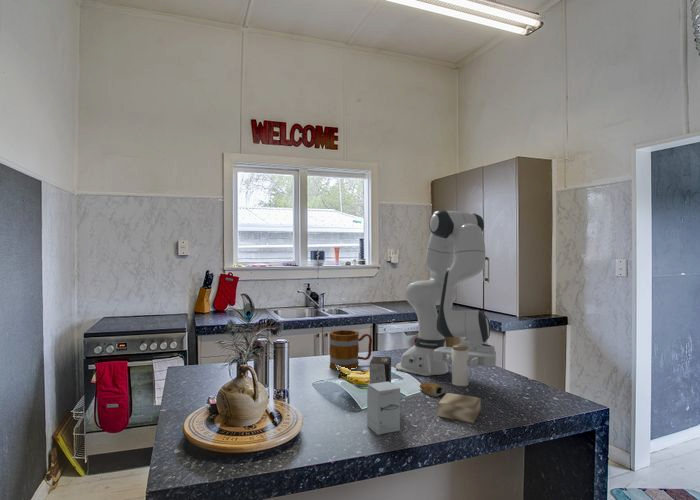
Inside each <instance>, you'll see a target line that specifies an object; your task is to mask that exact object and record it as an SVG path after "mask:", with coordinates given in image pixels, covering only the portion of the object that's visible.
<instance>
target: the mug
mask: <svg viewBox="0 0 700 500" xmlns="http://www.w3.org/2000/svg"><path fill="white" fill-rule="evenodd" d="M359 336H360V332H359V331H358V330H357V331H356V330H352V329H351V330H350V329H339V330H332V331H330V333H329V342H330V343H329V369H332V370H335V371H338V370H337V368H336V366H335V364H336V365H339V366H341V367H345V368H348V369H351V368H356V367H358V368H359V366H358V364H359V360H364V361H368V360H370V358H371V355H372V345H373V344H372V343H373V339H372V336H371V335H370V334H369V333H364V334H362V335H361V336H360V337H359ZM366 337H368V352H367V356H366V357H364V356H359V350H360V349H359V342H361V341H363V340H364V339H365V338H366Z"/></svg>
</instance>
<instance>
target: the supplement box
mask: <svg viewBox="0 0 700 500" xmlns="http://www.w3.org/2000/svg"><path fill="white" fill-rule="evenodd" d="M366 391H367V395H366V396H367V399H366V402H367V403H366V404H367V405H366V407H367V408H366V411H367V412H366V413H367V415H366V416H367V417H366V418H367V419H366V420H367V421H366V427H368V428H370V430H371V431H372V432H374V433H375V434H376V435H378V436H380V435H384V434H389V433H396V432H400V430H401V388H400V387H399V386H397V385H396V384H394V383H392V382H391V383H390V382H381V383H373V384H370V383H369V384H367V390H366Z"/></svg>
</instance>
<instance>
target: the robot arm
mask: <svg viewBox="0 0 700 500" xmlns="http://www.w3.org/2000/svg"><path fill="white" fill-rule="evenodd" d="M428 226H429V231H430V232H431V233H430V235H429V238H428V242H427V247H426V252H425V256H424V257H425V258H424V260H423V261H424V262H423V263H424V267H425V268H426V270H428V271H429V279H426V280H417V281H414V282H411V283H409V284H408V285H407V286H406V287H405V293H404V295H405V299H406V301H407V303H408V304H409V305H411V307H412V308H413V309H414V311H415V313H416V316H417V323H418V335H417V336H416V337H415V338H414V339H413V343H414V345H413V346H411V347H410V348H408V349H407V350H405V351H404V352H403V353H402V355H401V358H400V362H398V363H397V364H396V365H395V369H396V368H397V369H399V370H398V371H400V370H402V371H401V372H405V373H409V374H414V375H420V376H423V377H424V376H425V377H429V376H435V375H437V376H439V375H444V374H447V373H449V368H448V365H447V364H451V365H452V348H453V346H452V347H451V346H447V341H446V338H447V339H449V338H464V339H463V340H461V341H460V342H459V343H458V344H462V345H466V346H467V349H468V366H469V367H474V366H475V367H486V368H487V367H488V368H495V367H496V366H497V351H496V349H495V348H496V347H495V346H494V345H490V344H489V343H488V340H489V339H490V335H491V326H490V320H489V317H488V316H487V315H486V314H485V313H484V312H483V311H482V310H477V309H475V310H472V309H471V310H469V309H468V310H453V303H454V301H455V299H457V296H458V287H457V286H459V285H460V284H461V283H462V282H464V281H468V280H470V279H472V278H474V277H475V276H477V275H479V274H481V272H482V271H483V270H484V268H485V266H486V245H485V239H484V233H483V232H484V228H485V223H484V220H483V217H482V216H481V215H480V214H478V213H474V212H468V211H463V210H444V209H443V210H442V209H441V210H437V211H434V212H433V213H432V214H431V216H430V218H429V223H428ZM453 256H454V258H453ZM437 306H439V310H437Z"/></svg>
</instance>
